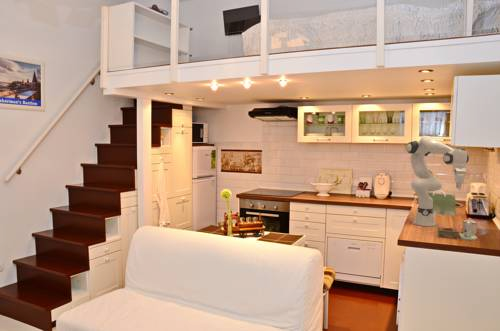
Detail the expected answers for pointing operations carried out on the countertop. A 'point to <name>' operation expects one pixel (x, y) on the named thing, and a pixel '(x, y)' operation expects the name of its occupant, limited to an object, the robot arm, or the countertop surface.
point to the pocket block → (447, 233)
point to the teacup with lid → (472, 226)
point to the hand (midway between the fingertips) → (458, 188)
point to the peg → (468, 229)
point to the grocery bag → (443, 203)
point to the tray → (472, 238)
